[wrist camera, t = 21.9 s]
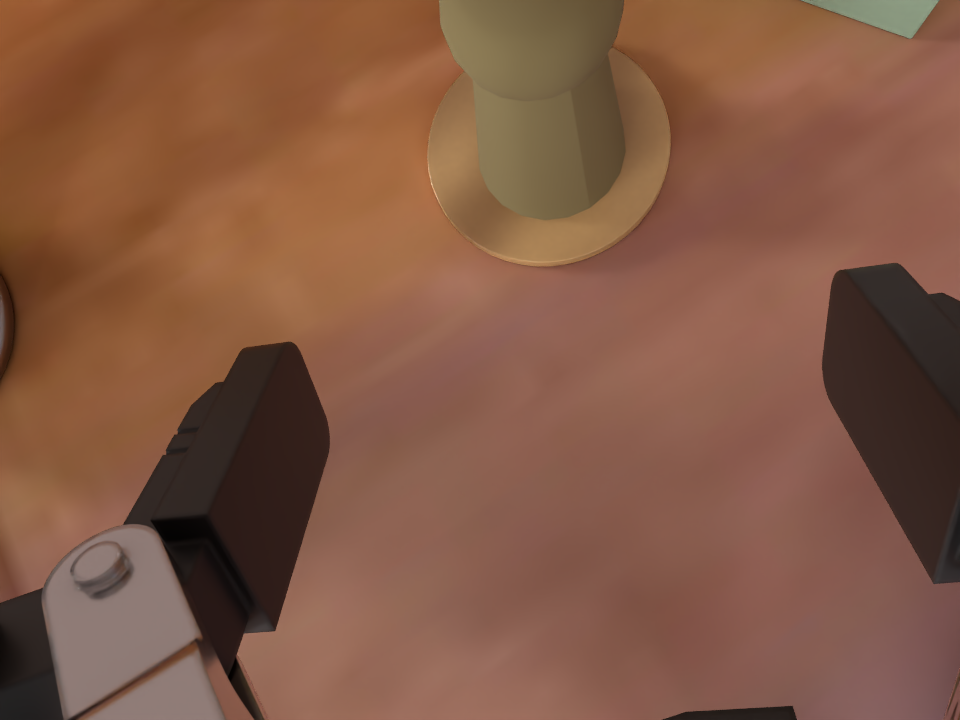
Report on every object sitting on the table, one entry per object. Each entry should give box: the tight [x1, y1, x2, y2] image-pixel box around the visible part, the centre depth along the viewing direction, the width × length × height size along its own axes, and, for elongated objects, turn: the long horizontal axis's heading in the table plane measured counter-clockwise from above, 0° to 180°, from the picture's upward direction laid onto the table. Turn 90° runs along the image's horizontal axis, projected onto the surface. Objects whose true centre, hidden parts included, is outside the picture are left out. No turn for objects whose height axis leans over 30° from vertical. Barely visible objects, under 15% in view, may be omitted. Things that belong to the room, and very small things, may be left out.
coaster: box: [427, 47, 671, 266], centre depth 30 cm, size 10×10×1 cm
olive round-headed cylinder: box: [439, 0, 626, 220], centre depth 24 cm, size 6×6×11 cm
